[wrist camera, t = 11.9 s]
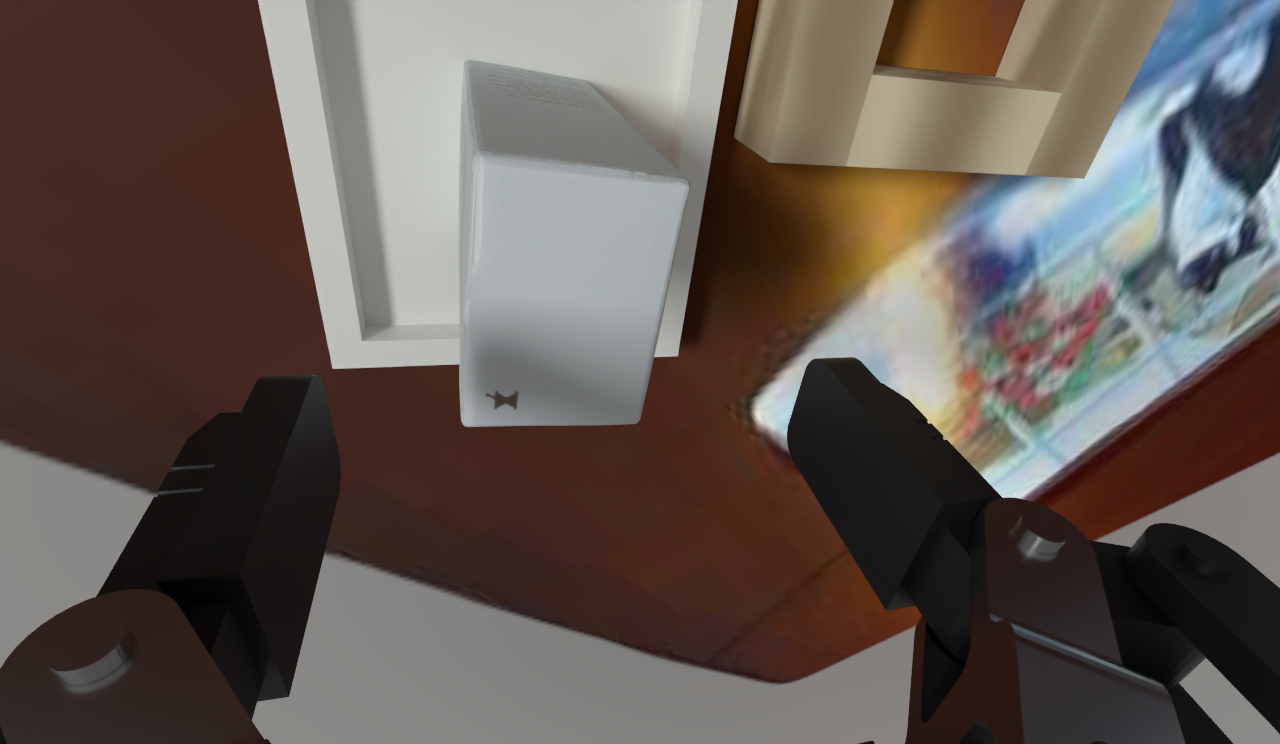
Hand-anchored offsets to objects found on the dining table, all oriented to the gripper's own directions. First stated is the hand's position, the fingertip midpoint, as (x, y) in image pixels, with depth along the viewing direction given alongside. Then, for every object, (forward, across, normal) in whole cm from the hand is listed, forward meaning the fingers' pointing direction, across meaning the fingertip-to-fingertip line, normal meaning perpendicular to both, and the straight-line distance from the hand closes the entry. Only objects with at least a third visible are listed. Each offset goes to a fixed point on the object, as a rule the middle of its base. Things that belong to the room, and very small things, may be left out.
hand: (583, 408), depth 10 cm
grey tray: (+15, 0, 0) cm, 15 cm away
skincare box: (+15, 0, 0) cm, 15 cm away
